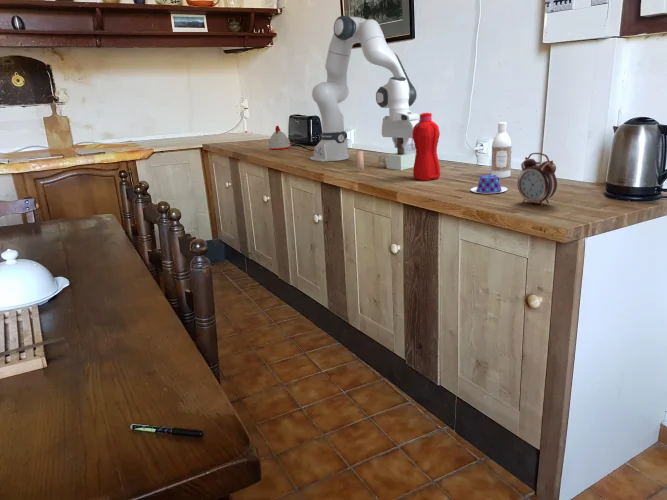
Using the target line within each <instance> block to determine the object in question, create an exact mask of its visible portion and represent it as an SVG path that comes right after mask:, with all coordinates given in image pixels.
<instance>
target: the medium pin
mask: <svg viewBox="0 0 667 500" xmlns="http://www.w3.org/2000/svg"><path fill="white" fill-rule="evenodd" d="M364 161H365V159H364V151H363V150H356V170H357V173H364V172H365V162H364Z"/></svg>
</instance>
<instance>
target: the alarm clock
mask: <svg viewBox="0 0 667 500" xmlns="http://www.w3.org/2000/svg"><path fill="white" fill-rule="evenodd" d="M533 155H541V156H544V157H545V158H546V160H545V161H543V162H541V163H540V162H538V161H536V160H535V159H534V158H530V157H531V156H533ZM553 162H554V160H550V158H549V156H548V155H547V154H545V153H541V152H533V153H530V154H529V155H528V156H525V158H524V160H523V161H522V163H521V164H520V165H521V166H520V167H521V172H520V173H519V176H518V178H517V189H518V192H519V194H520V196H521V197H522V198H523V201H522V203H523V204H524V203H525V201H527V202H529V203H540V205H541V207H544V204H543V202H545V201H546V202H547V204H549V203H550V202H549V199H550V198H551V197H553V196H554V195H555V193H556V191H557V188H558V180H557V176H556V174H555V173H556V170H557V166H556V164H555V163H553Z"/></svg>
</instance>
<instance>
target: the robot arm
mask: <svg viewBox="0 0 667 500" xmlns="http://www.w3.org/2000/svg"><path fill="white" fill-rule="evenodd" d="M387 43H388V42H387V41H386V38H385V35H384V33H383V30H382V28H381V26H380V24H379V22H378V21H377V20H376V19H373V18H369V19H367V18H363V17H359V16H350V15H340V16H338V17H337V18H336V19H335V21H334V24H333V34H332V36H331V39H330V43H329V44H328V45H329V46H328V49H327V50H328V51H327V56H326V60H325V65H324V66H325V70H326V76H327V78H326V81H323V82H320V83H317V84H316V85H314V87H313V88H312V91H311V97H312V100H313V101H314V102H315V104H316V105H317V107H318V111H319V113H320V116H321V125H322V133H319V134H320V135H319V136H320V141H319V142H318V143H317V144H316V145H315V147H314V150H313V151H314V152H313V153H314V155H313V156H310V158H309V160H313V161H317V162H321V163H322V162H337V161H344V160H348V159H349V158H350V157H351V155H350V154H349V150H348V145H347V141H346V130H345V123H344V122H345V121H344V115H343V113H342V111H341V110H340V108H339V104H340V103H342V102H345V100H347V98H348V96H349V92H350V91H349V87H348V85H347V83H348V82H347V80H348V79H347V78H348V77H347V76H348V75H347V74H348V73H347V72H348V67H349V63H350V59H351V53H352V50H353V46H354V45H355V44H358V45H360V47H361V50H362V53H363V54H362V55H363V56H364V58H365V60H366V61H367V62H369V63H370V64H373V65H375V66H378V67H383V68H384V69H386V70H388V71H390V73H392V75H393V76H392V77H389V79H388V81H387V83H386V84H384V85H382V86H380V87H379V88H378V89H377V90H376V93H375V101H376V104H377V105H378V106H379V107H380V108H383V109H388V110H389V111H388V113H389V114H388V115H384V117H383V118H382V122H381V123H382V124H381V136H382V137H383V138H391V140H392V142H393V145H394V147H393V148H395V149H397V138H403V140H404V142H403V144H402V148H407V144H408V142H409V140H410V139H412V137H413V134H412V133H413V128H414V126H415V125H416V124H417V123H418V122H419V120H420V114H418V113H416V112H414V111H412V110H410V108H411V106H412V105H414V103H415V102H416V100H417V91H416V88H415V86H414V85H413V84H412V83H411V80H410V78H409V77H408V74H407V72H406V70H405V68H404V66H403V64H402V61H401V60H400V58H399V55H397V53H396V52H394V51H393V50H392V49H391V48H390V47H389V45H388V44H387Z"/></svg>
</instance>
